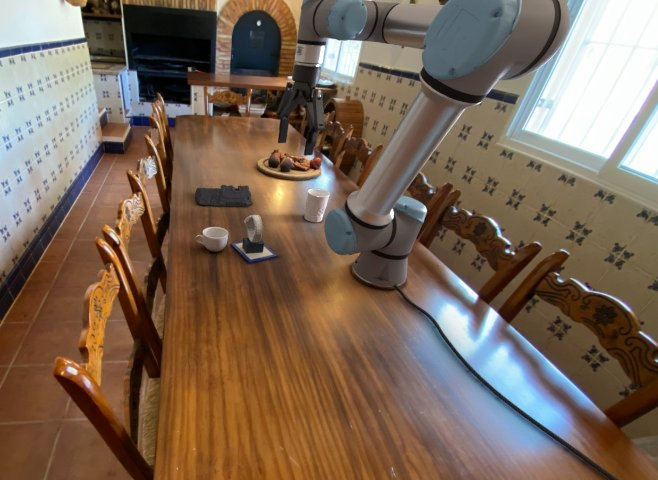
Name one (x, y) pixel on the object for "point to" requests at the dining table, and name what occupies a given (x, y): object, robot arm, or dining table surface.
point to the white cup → (316, 204)
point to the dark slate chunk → (224, 196)
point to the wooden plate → (289, 166)
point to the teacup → (214, 238)
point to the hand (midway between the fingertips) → (294, 148)
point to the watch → (253, 235)
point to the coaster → (254, 257)
